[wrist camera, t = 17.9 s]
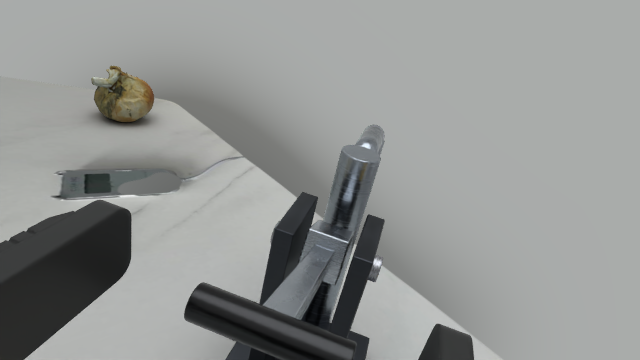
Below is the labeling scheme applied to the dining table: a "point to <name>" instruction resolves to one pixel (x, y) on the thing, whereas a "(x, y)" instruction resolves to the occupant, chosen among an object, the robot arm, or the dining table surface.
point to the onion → (122, 96)
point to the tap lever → (282, 305)
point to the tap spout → (347, 210)
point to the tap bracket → (286, 257)
